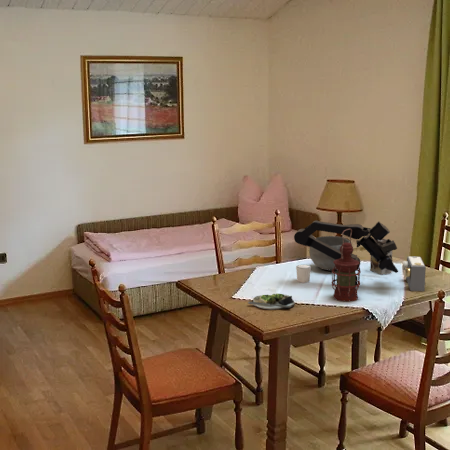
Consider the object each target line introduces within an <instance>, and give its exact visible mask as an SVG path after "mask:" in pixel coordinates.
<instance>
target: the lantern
mask: <svg viewBox="0 0 450 450" xmlns="http://www.w3.org/2000/svg"><path fill="white" fill-rule="evenodd" d="M346 230H349V229H346ZM346 230H344V231H346ZM350 230H351V229H350ZM344 231H343V233H344ZM343 233H342V234H341V237H342V238H343V244H342V246H341V247H340V252H341V258H339V259H337V260H334V261H333V263H334V264H335V266H334V268H333V269H332V270H331V276H332V277H331V279H332V280H331V286H332V287H331V288H332V289H333V291H334V293H333V297H332V298H333V299H334V300H335V301H339V302H346V303H347V302H355V301H357V300H358V299H359V296H358V290H359V288H360V286H361V280H360V279H361V278H360V277H361V272H362V271H361V267H360V266H359V267H358V265H359V261H357V260H354V259H353V258H351V256H352V254H354V253H353V252H354V251H355V250H354V246H353V243H352V238H351V235H350V237H349V241H350V243H347V242H346V243H344V238H345V237H344V235H343ZM351 234H352V230H351ZM350 254H351V255H350ZM342 255H343V256H342ZM335 267H336V268H335ZM357 267H358V268H359V269H357ZM336 269H337V270H336ZM355 270H357V271H355ZM355 272H356V274H355ZM355 275H357V280H355ZM355 281H356V282H357V285H356V286H355ZM334 287H335V288H334ZM355 287H357V288H355Z"/></svg>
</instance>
